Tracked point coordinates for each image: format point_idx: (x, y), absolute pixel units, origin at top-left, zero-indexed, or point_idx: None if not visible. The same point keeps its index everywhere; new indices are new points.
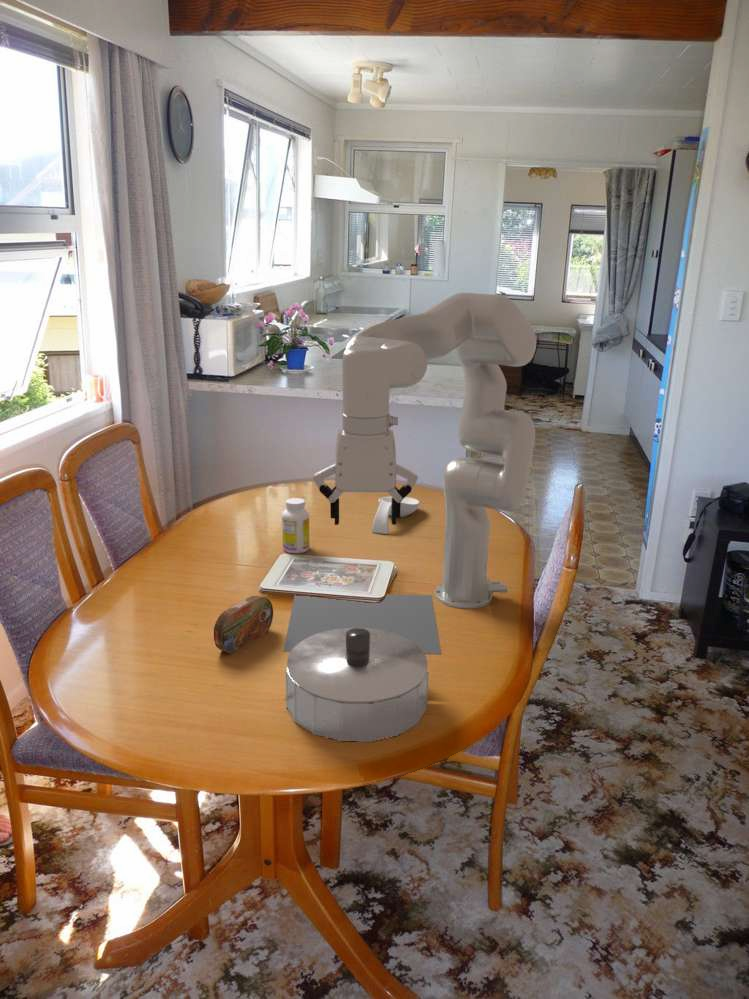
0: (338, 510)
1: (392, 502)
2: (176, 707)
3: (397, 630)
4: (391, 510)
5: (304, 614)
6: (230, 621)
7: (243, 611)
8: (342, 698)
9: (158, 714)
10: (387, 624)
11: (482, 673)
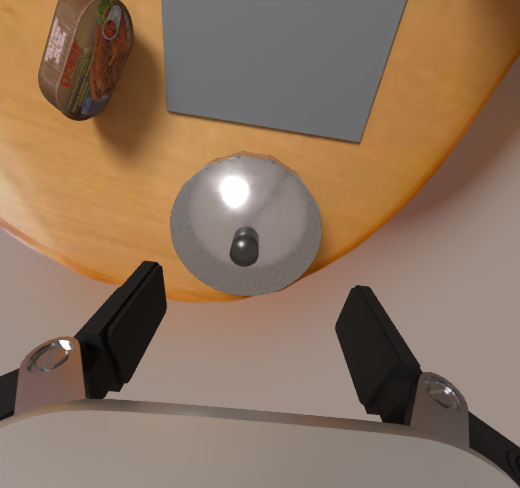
0: (141, 355)
1: (368, 401)
2: (86, 212)
3: (327, 59)
4: (362, 317)
5: None
6: (65, 93)
7: (71, 63)
8: (227, 292)
9: (75, 221)
10: (318, 31)
11: (384, 186)
